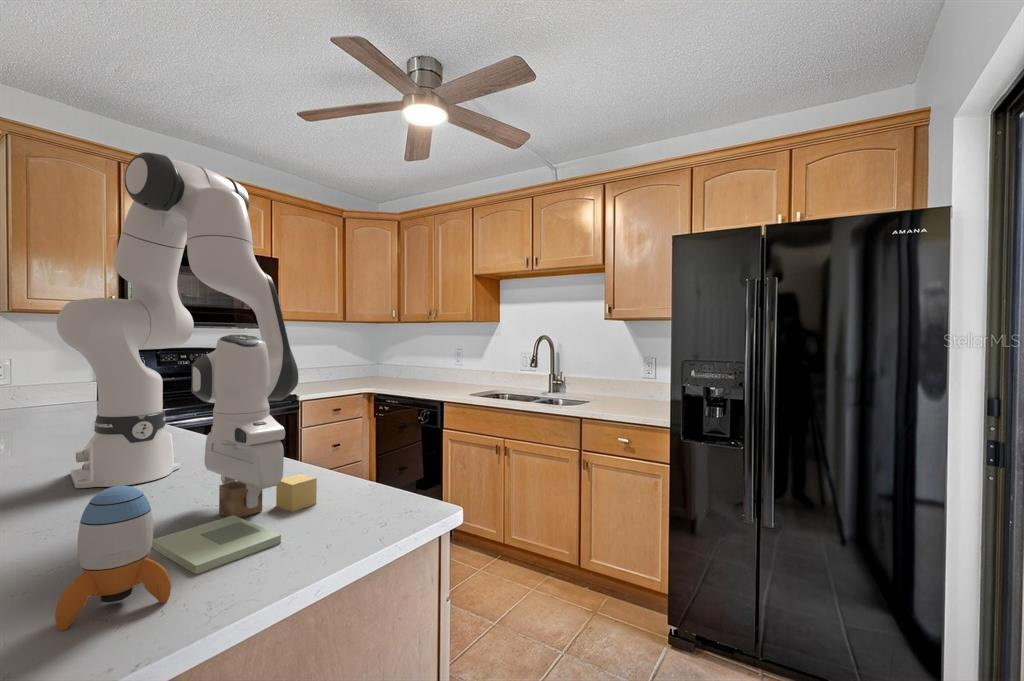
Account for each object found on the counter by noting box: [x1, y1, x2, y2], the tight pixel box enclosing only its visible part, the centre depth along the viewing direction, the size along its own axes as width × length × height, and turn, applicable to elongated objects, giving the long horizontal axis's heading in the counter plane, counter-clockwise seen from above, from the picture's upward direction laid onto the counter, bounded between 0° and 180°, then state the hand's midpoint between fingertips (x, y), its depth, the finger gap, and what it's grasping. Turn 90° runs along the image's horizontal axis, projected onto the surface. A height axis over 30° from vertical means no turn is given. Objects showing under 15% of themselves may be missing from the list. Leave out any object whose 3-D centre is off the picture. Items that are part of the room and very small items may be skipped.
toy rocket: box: [54, 485, 172, 632], centre depth 58 cm, size 10×11×15 cm
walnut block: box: [218, 480, 263, 518], centre depth 87 cm, size 5×5×5 cm
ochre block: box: [275, 473, 318, 513], centre depth 91 cm, size 5×5×5 cm
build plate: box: [151, 515, 282, 575], centre depth 74 cm, size 14×12×1 cm
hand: (241, 502), depth 87 cm, fingers closed on walnut block, 5 cm apart
